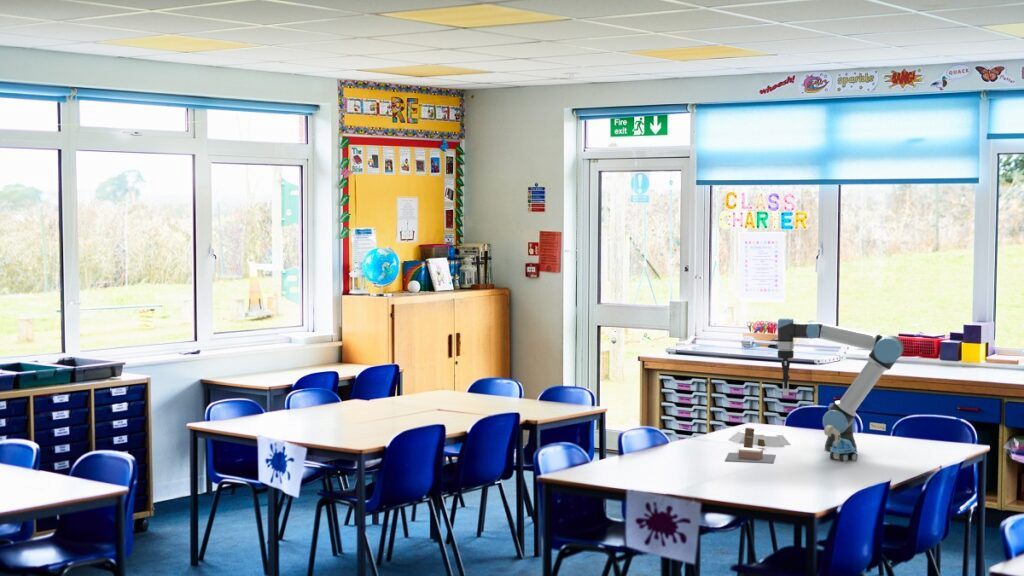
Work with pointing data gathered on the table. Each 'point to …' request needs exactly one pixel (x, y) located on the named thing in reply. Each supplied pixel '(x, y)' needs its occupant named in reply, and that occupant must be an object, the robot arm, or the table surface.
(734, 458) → the rubber mat
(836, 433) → the toy excavator
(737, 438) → the paper sheets
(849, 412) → the robot arm
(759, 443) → the wooden block set
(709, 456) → the table surface
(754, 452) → the card deck
